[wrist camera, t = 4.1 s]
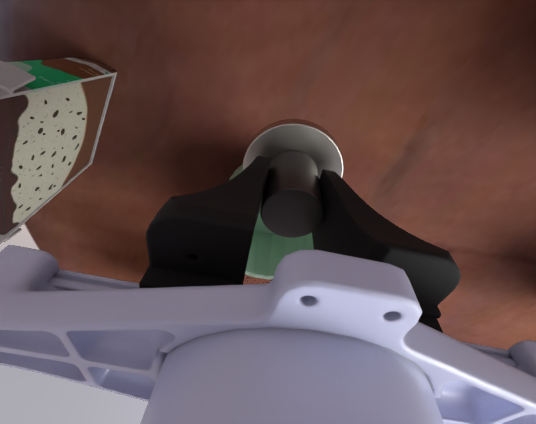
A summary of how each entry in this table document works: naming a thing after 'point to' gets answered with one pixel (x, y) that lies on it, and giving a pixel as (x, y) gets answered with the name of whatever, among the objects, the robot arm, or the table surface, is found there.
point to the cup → (270, 247)
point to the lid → (294, 174)
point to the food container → (47, 130)
